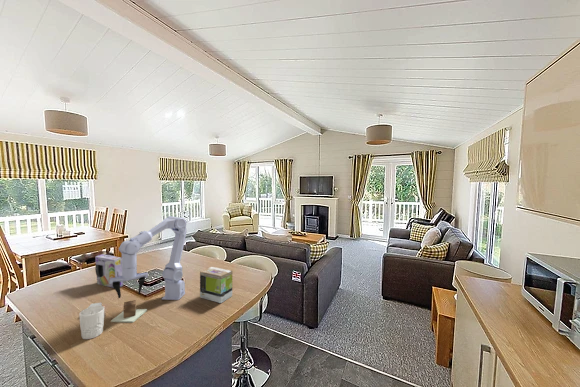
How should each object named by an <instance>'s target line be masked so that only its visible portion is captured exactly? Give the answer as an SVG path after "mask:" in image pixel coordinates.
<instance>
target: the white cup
mask: <svg viewBox="0 0 580 387" xmlns="http://www.w3.org/2000/svg"><path fill="white" fill-rule="evenodd" d="M104 306H105V305H104ZM104 306H93V307H89V306H88V307H89V308H88V307H87V308H84V309H82V310H81V311H80V312H79V313H78V315H79V316H78V317H79V326H80V334H81V336H80V337H81V338H82V339H83V340H90V339H94V338H97V337H99V336H100V335H101V334H103V332H104V325H105V324H104V322H105V317H104Z"/></svg>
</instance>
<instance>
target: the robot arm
mask: <svg viewBox="0 0 580 387" xmlns="http://www.w3.org/2000/svg"><path fill="white" fill-rule="evenodd" d="M187 223H188V222H187V221H186V219H185V218H184V217H180V216H179V217H178V216H173V215H171V216H170V215H169V216H167V217H165V218H164V219H163V220H162V221H161V222H159V223H158V224H157V225H155V226H154V227H152V228H150V229H149V230H143V231H140V232H139V233H138V234H137V235H135V236H133V237H130V238H129V240H124V241H122V242H121V244H120V246H119V247H118V251H119V252H120V253H121V258H122V276H119V277H115V278H110V284H113V287H114V288H113V289H114V290H115V292H116V294H117V298H118V299H121V297H122V293H121V287H120V282H122V281H123V282H126V281H133V280H138V295H141V292H142V291H141V290H142V288H143V285H144V283H145V281H146V279H148V278H149V276H148V273H149V272H139V273H138V269H137V268H138V265H137V260H138V259H137V258H138V257H137V253H138V252H140V251H139V250H140V248H142V247H144V246H145V245H146V244H148V243H149V242H151V241H152V240H153V237H154V236H157V234H160V233H161V232H163V231H165V230H166V229H170V230H172V231H173V233H174V234H175V235H174V239H173V244H172V247H171V248H172V249H171V254H170V257H169V262H168V263H166V264H165V266H164V268H163V271H162V272H161V276H162V278H163V279H164V296H162V298H161V300H165V301H168V300H173V301H179V300H180V299H182V297H184V295H186V284H185V283H186V282H185V280H182V278H183V276H184V275H183V274H184V273H183V266H182V264H181V259H182V256H183V250H184V246H185V240H186V236H187V231H188V230H187Z"/></svg>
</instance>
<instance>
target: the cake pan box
mask: <svg viewBox="0 0 580 387" xmlns="http://www.w3.org/2000/svg"><path fill="white" fill-rule="evenodd" d="M94 258H95V274H96V285H99V286H104V287H109V288H112V289H114V287H113V284H110V278H115V277H119V276H122V256H121V257H119V256H114V255H110V254H98V255H96V256H95V257H94ZM122 287H124V281H122V282H120V288H122Z"/></svg>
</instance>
